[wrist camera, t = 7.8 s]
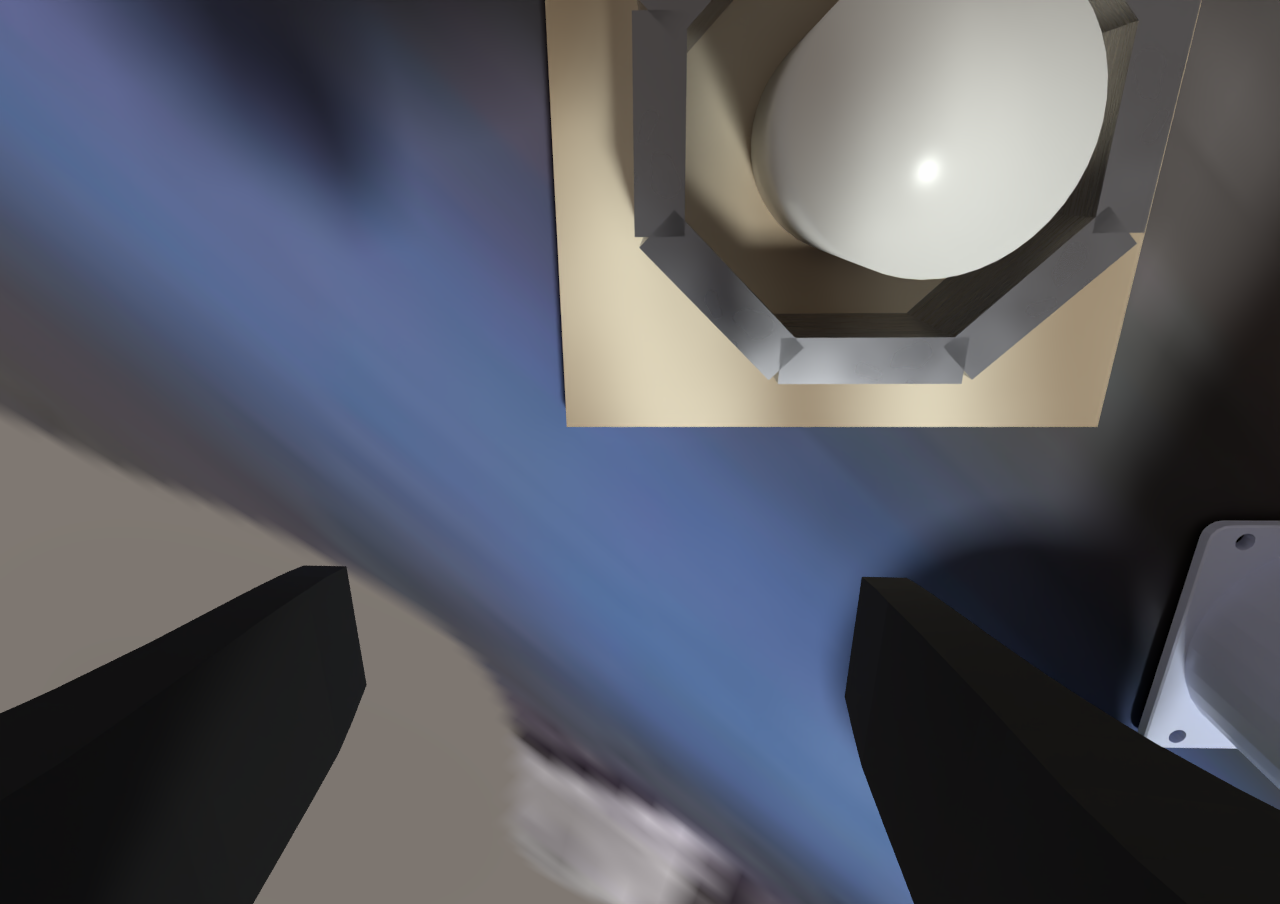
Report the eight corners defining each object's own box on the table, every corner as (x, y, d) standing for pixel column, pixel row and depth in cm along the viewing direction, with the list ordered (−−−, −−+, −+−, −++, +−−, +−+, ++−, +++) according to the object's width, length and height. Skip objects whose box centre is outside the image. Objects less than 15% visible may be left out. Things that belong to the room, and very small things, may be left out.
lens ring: (1134, -140, 14) (1256, -225, 11) (1035, 352, 17) (1107, 383, 14) (635, -128, 14) (629, -207, 11) (640, 353, 18) (636, 384, 15)
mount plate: (1235, -249, 14) (1269, -275, 13) (1079, 417, 19) (1097, 426, 18) (539, -228, 14) (532, -252, 13) (570, 417, 19) (566, 426, 18)
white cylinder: (990, 13, 15) (1145, -69, 10) (952, 254, 16) (1067, 280, 12) (757, 14, 15) (802, -66, 10) (744, 253, 17) (777, 278, 12)
